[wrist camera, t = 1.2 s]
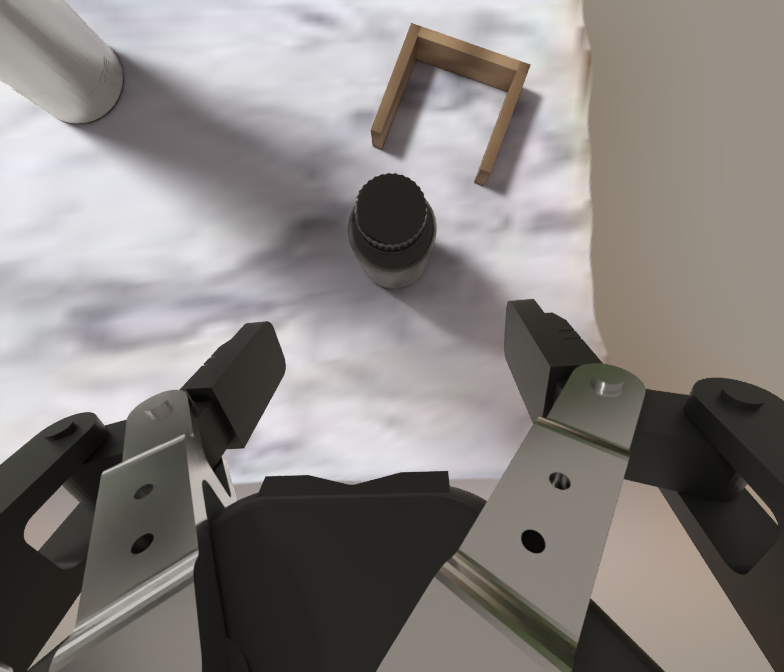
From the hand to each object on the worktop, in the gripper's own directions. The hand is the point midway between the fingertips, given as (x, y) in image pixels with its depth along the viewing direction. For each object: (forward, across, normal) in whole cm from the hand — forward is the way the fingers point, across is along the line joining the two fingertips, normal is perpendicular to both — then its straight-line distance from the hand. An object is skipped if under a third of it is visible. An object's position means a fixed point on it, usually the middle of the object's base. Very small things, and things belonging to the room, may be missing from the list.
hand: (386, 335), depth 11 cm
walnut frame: (+30, -5, -7) cm, 32 cm away
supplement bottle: (+23, +2, +4) cm, 23 cm away
